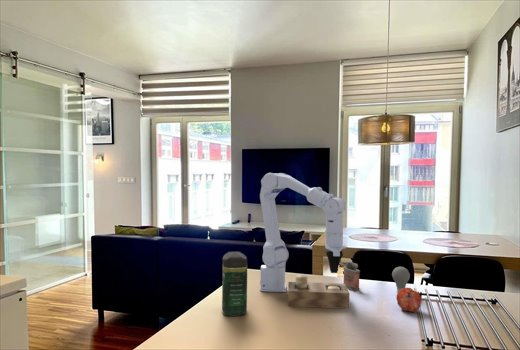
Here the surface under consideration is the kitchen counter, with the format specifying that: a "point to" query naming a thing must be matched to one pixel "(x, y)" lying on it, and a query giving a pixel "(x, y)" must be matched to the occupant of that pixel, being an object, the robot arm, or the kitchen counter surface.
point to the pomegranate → (408, 299)
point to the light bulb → (400, 277)
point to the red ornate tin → (351, 276)
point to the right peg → (333, 288)
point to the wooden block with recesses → (318, 295)
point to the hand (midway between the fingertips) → (333, 272)
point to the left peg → (301, 282)
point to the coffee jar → (234, 284)
